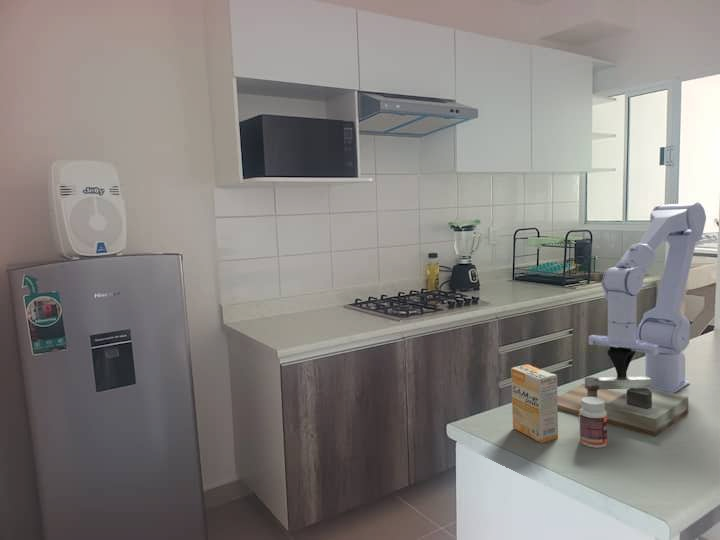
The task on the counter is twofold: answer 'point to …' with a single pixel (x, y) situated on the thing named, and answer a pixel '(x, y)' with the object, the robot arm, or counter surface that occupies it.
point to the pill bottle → (593, 422)
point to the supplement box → (534, 402)
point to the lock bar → (617, 383)
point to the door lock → (632, 407)
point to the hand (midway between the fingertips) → (622, 380)
